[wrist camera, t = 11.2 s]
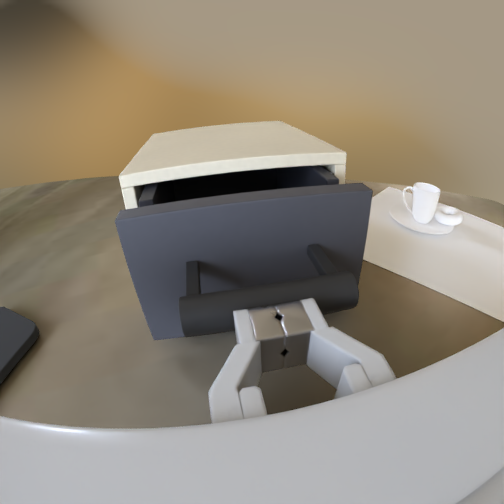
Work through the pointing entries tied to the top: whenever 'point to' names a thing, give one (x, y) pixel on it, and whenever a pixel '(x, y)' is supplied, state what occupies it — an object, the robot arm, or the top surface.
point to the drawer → (243, 246)
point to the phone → (14, 339)
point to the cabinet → (225, 154)
